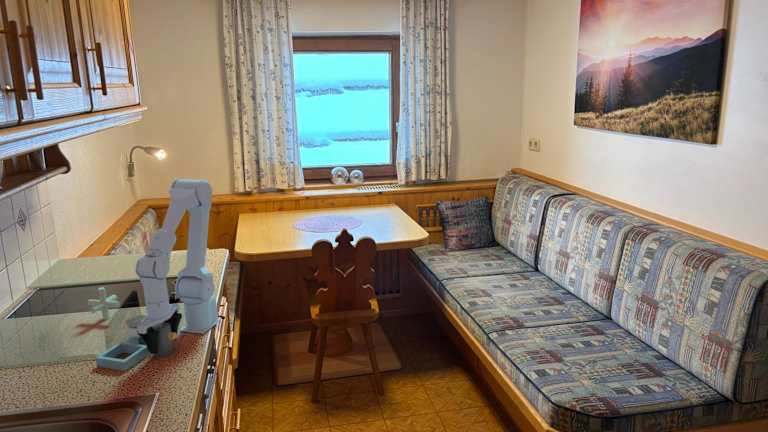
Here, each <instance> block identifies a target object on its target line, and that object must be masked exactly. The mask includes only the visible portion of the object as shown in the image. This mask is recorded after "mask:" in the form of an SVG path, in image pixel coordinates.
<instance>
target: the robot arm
mask: <svg viewBox="0 0 768 432" xmlns="http://www.w3.org/2000/svg"><path fill="white" fill-rule="evenodd" d="M168 193H169V198H170V202H169V205H168V207H167V211H166V214H165V216H164V219H163V222H162V226H161V228H159V229H157V230H155V231H154V233H153V236H152V237H151V241H150V242H149V245H148V248H147V249H146V252H145V254H144V255H143V256H142V257H139V258H138V260H137V261H136V265H135V266H136V268H135V269H134V271H135V274H136V276H137V277H139V281H140V283H141V284H142V288H143V294H144V295H143V296H144V302H145V308H146V313H145V314H144V315H145V317H146V318H145V319H144V320H143V322H142V323H141V324H140V325H138V326H137V329H138V330H137V334H138V335H139V336H140V337H141V338H142V339H143V341H144V342H145V344H146V346H147V348H148V350H149V353H150V354H151V355H155V354H157V353H158V336H159V332H160V331H158V330H154V329H153V326H155V325H156V324H158V323H160V322H168V323H170V327H171V332H174V333H176V335H177V336H178V331H180V332H185V333H191V334H192V333H194V334H202V335H203V334H205V333H206V332H208V331H209V330H210V329H212V328H213V327H214V326H215V325H217V324H218V323H219V322H221V318H219V313H218V305H217V300H216V298H215V296H214V292H215V284H214V274H213V272H211V271H210V270H209V269H208V268H207V267H206V261H207V259H206V258H207V247H208V234H209V221H210V218H209V217H210V210H211V208H212V202H213V201H212V200H213V199H212V198H213V187H212V186H211V184H210V182H209V181H208V180H207V179H183V178H176V179H174V180H173V181H172V183H171V186H170V189H169V191H168ZM187 210H188V212H189V221H188V222H189V223H188V235H187V236H188V238H187V249H186V261H185V262H186V263H185V267H183V268H182V269H181V270H179V271H178V274H177V278H176V282H175V285H174V290H175V291H174V292H175V294H176V296H177V297H178V298H180V301H181V302H182V303H183V311H184V318H185V325H184V326H183V327H181V328H180V329H179V325H180V324H181V320H182V318H183V314H182V313H180V311H181V307H180V306H181V305H180V304H179V303H172V304H170V298H169V292H168V285H167V275H168V274H169V272H170V268H171V265H170V264H171V262H170V261H171V257H170V256H171V255H172V251H173V248H174V246H175V245H176V242H177V235H176V230H177V229H178V227H179V225H180V223H181V221H182V219H183V217H184V215H185V213H186V211H187ZM178 329H179V330H178ZM176 340H177V338H175V339H174V340H172V342H173V341H176Z"/></svg>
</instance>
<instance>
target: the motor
mask: <svg viewBox="0 0 768 432" xmlns="http://www.w3.org/2000/svg"><path fill="white" fill-rule="evenodd" d="M145 318H146V317H145V314H141V315H140V314H139V315H136V316H132V317H131V318H128V320H127V321H126V327H127V334H128V339H126V340H125V341H124V342H127V343H133V344H140V345H146V344H145V342H144V341H143V339H142V338H141V337H140V336H139V335H138V334H137V330H138V329H137V326H138V325H140V324H141V323H142V322H143V320H144V319H145Z"/></svg>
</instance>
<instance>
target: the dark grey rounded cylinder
mask: <svg viewBox="0 0 768 432" xmlns="http://www.w3.org/2000/svg"><path fill="white" fill-rule="evenodd" d="M153 329H154V330H158V331H160V332H159V336H158V353H157V354H154V357H155V358H161V359H162V358H167V357H169V356H171V355H173V354H174V352H175V351H174V343H173V340H174V339H175V338H176V339H177V336H178V334H177V335H176V333H174V332H171V327H170V323H168V322H160V323H158V324H156V325H155V326H153Z"/></svg>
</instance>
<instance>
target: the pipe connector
mask: <svg viewBox="0 0 768 432" xmlns="http://www.w3.org/2000/svg"><path fill="white" fill-rule="evenodd" d="M97 290H98V297H99V299H92V298H91V299H88V300H87V305H88V306H92V307H90V308H89V311H90V313H92V314H95V313H97V312H98V311H99V310H101V314H102V319H103V320H104V321H106V320H109V319H110V313H109V307H110V308H119V307H120V306H121V302H120V301H117V299H118V296H117V295H116V294H112V295H109V296H108V297H107V294H106V288H105V287H103V286H102V287H101V286H100V287H99V288H97Z"/></svg>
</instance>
